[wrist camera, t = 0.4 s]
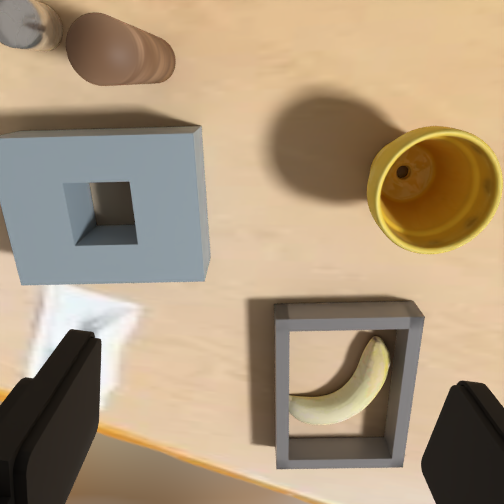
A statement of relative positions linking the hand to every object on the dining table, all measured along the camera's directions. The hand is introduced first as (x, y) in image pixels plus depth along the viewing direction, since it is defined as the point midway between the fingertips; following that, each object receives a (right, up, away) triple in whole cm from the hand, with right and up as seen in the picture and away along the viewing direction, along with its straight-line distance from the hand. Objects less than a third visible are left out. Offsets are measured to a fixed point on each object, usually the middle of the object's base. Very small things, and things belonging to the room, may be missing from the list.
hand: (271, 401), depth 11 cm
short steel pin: (-20, +24, +27) cm, 42 cm away
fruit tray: (+10, -12, +42) cm, 45 cm away
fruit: (+10, -11, +43) cm, 45 cm away
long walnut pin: (-10, +22, +28) cm, 37 cm away
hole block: (-14, +10, +33) cm, 38 cm away
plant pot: (+15, +12, +32) cm, 38 cm away
